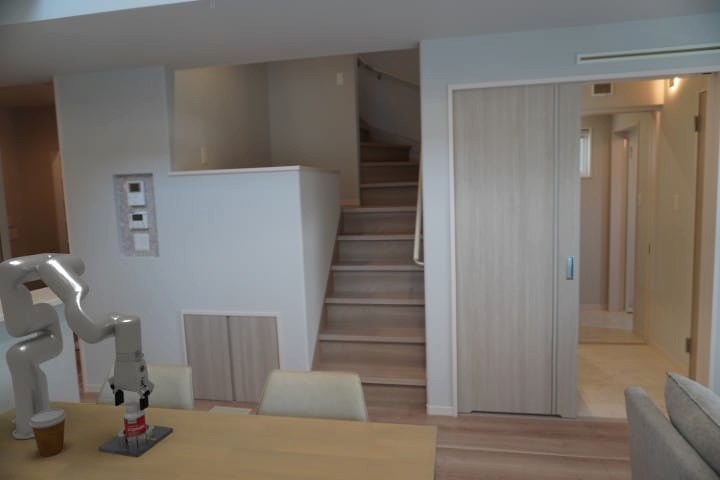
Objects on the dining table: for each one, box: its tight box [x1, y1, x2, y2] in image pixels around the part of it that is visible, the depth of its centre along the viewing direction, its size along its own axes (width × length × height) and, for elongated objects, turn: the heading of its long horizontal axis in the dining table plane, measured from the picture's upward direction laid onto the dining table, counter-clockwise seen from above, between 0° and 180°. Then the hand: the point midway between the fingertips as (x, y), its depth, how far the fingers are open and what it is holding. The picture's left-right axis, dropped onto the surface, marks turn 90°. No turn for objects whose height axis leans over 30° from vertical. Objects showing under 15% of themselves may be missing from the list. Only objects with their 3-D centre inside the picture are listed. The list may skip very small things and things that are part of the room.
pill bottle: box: [123, 401, 147, 441], centre depth 155 cm, size 6×6×11 cm
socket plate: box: [98, 422, 174, 458], centre depth 155 cm, size 15×16×4 cm
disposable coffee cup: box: [30, 408, 67, 458], centre depth 150 cm, size 10×10×12 cm
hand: (131, 406), depth 154 cm, fingers open, 9 cm apart
